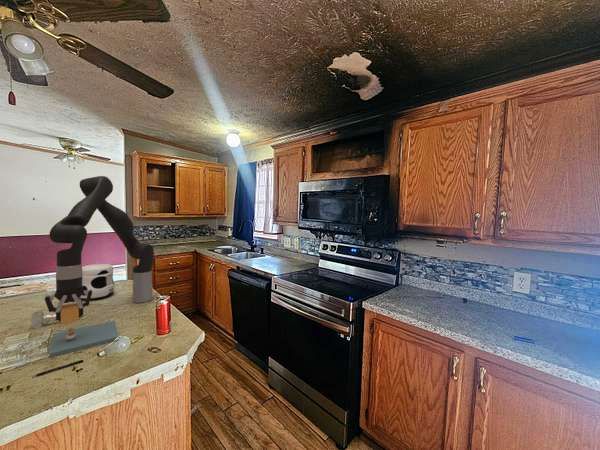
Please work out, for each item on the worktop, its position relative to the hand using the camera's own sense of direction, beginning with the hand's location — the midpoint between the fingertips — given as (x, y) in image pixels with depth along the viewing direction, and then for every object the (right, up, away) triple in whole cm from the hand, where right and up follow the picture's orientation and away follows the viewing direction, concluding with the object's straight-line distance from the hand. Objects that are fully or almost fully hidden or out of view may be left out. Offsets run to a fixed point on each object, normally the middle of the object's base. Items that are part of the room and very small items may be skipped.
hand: (69, 318), depth 98 cm
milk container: (-31, -6, +51) cm, 60 cm away
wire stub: (0, -8, +1) cm, 8 cm away
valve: (-23, -9, +15) cm, 29 cm away
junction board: (+3, -10, +4) cm, 11 cm away
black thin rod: (+10, -12, -15) cm, 21 cm away
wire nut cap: (0, -1, 0) cm, 1 cm away
